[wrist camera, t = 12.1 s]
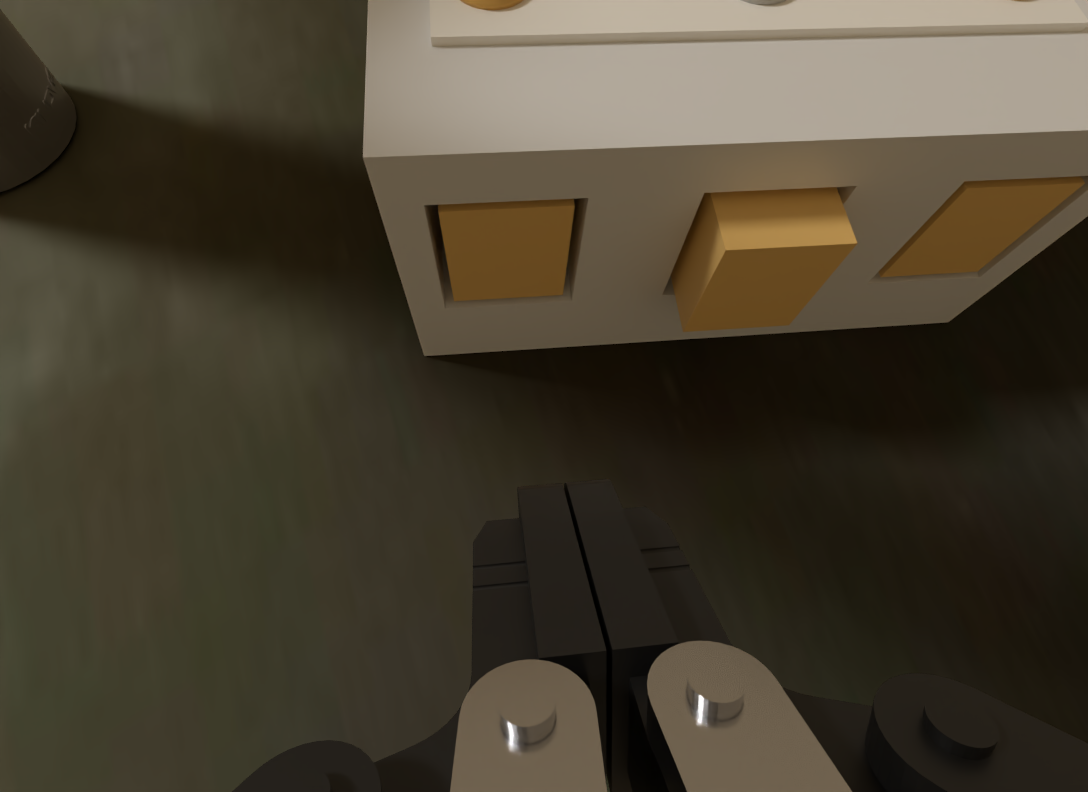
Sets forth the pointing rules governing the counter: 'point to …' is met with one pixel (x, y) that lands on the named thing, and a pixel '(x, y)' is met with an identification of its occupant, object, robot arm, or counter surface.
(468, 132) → the button console
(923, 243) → the button
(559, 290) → the button
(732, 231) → the middle button
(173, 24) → the counter surface
